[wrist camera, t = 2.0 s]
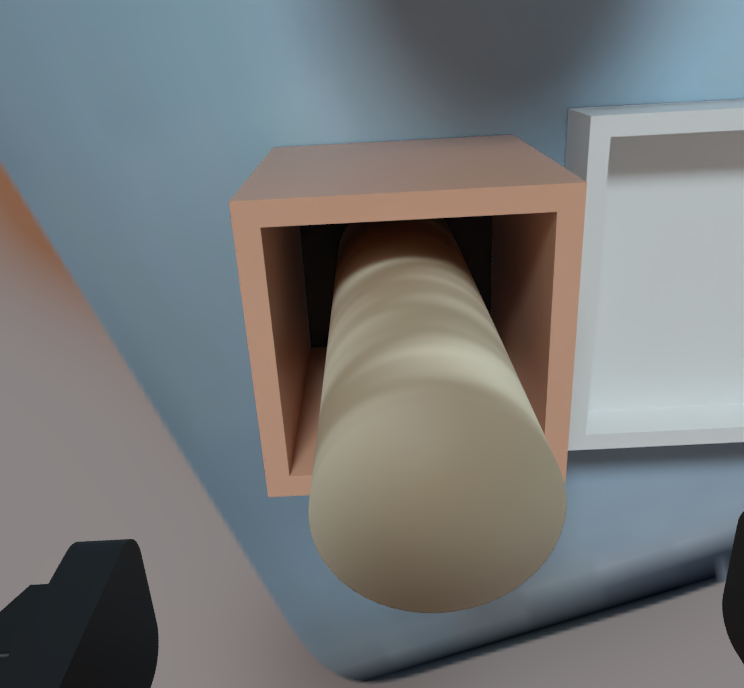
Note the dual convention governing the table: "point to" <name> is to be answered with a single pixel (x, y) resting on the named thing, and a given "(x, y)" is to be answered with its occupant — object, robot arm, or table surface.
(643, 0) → the table surface
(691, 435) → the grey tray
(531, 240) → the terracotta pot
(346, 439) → the maple peg
